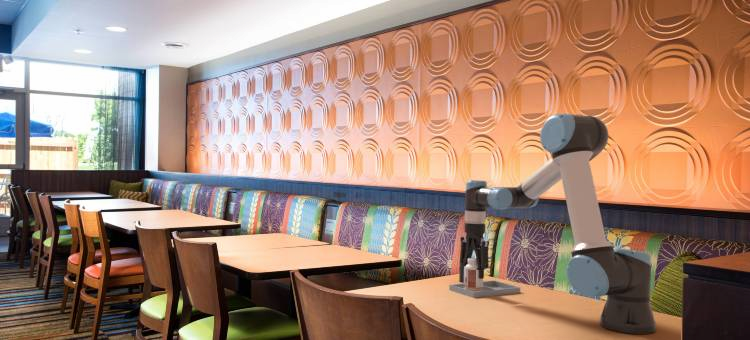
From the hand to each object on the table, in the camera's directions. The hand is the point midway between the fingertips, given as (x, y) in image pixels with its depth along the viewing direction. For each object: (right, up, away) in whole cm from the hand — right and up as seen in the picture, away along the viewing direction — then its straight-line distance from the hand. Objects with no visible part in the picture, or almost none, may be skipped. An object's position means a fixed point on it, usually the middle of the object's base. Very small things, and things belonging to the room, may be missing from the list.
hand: (473, 285), depth 215 cm
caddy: (+5, -3, +2) cm, 6 cm away
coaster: (0, -3, 0) cm, 3 cm away
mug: (+2, -3, +22) cm, 22 cm away
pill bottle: (0, -2, 0) cm, 2 cm away
